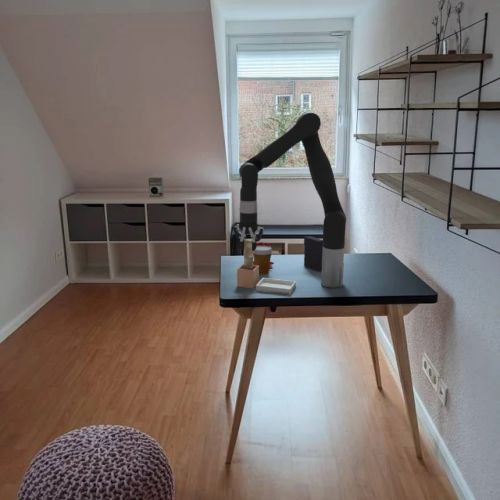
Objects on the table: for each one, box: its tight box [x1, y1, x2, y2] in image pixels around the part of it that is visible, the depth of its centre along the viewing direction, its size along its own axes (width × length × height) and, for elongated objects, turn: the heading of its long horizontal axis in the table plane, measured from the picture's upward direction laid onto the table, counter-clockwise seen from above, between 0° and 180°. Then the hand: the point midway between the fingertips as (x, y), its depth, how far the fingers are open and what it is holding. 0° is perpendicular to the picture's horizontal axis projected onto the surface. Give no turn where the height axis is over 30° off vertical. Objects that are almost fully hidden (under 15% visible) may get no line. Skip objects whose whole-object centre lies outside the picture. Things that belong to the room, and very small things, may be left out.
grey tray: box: [255, 277, 297, 296], centre depth 217 cm, size 15×11×2 cm
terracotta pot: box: [236, 263, 260, 289], centre depth 221 cm, size 8×8×8 cm
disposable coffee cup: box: [253, 246, 273, 275], centre depth 237 cm, size 10×10×12 cm
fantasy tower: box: [253, 241, 275, 270], centre depth 248 cm, size 12×12×12 cm
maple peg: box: [243, 238, 254, 270], centre depth 218 cm, size 4×4×14 cm
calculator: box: [303, 235, 323, 272], centre depth 245 cm, size 11×4×15 cm, turn 34°
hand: (248, 249), depth 217 cm, fingers closed on maple peg, 4 cm apart
